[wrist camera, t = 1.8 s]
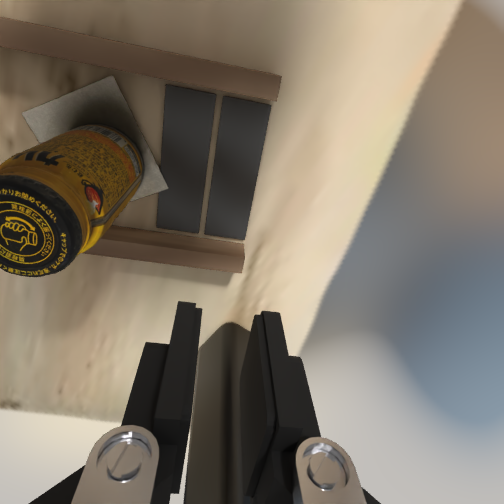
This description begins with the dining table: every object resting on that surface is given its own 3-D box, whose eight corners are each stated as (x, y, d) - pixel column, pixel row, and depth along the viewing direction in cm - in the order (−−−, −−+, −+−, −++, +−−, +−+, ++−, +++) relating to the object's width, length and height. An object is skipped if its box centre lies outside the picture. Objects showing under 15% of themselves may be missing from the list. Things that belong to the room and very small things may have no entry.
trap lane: (-224, -31, 21) (-290, -44, 18) (277, 74, 25) (282, 76, 22) (-140, 207, 27) (-178, 223, 25) (240, 258, 32) (241, 276, 29)
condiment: (88, 216, 29) (1, 308, 18) (22, 112, 25) (-135, 155, 14) (169, 187, 28) (126, 267, 17) (114, 74, 24) (16, 90, 13)
